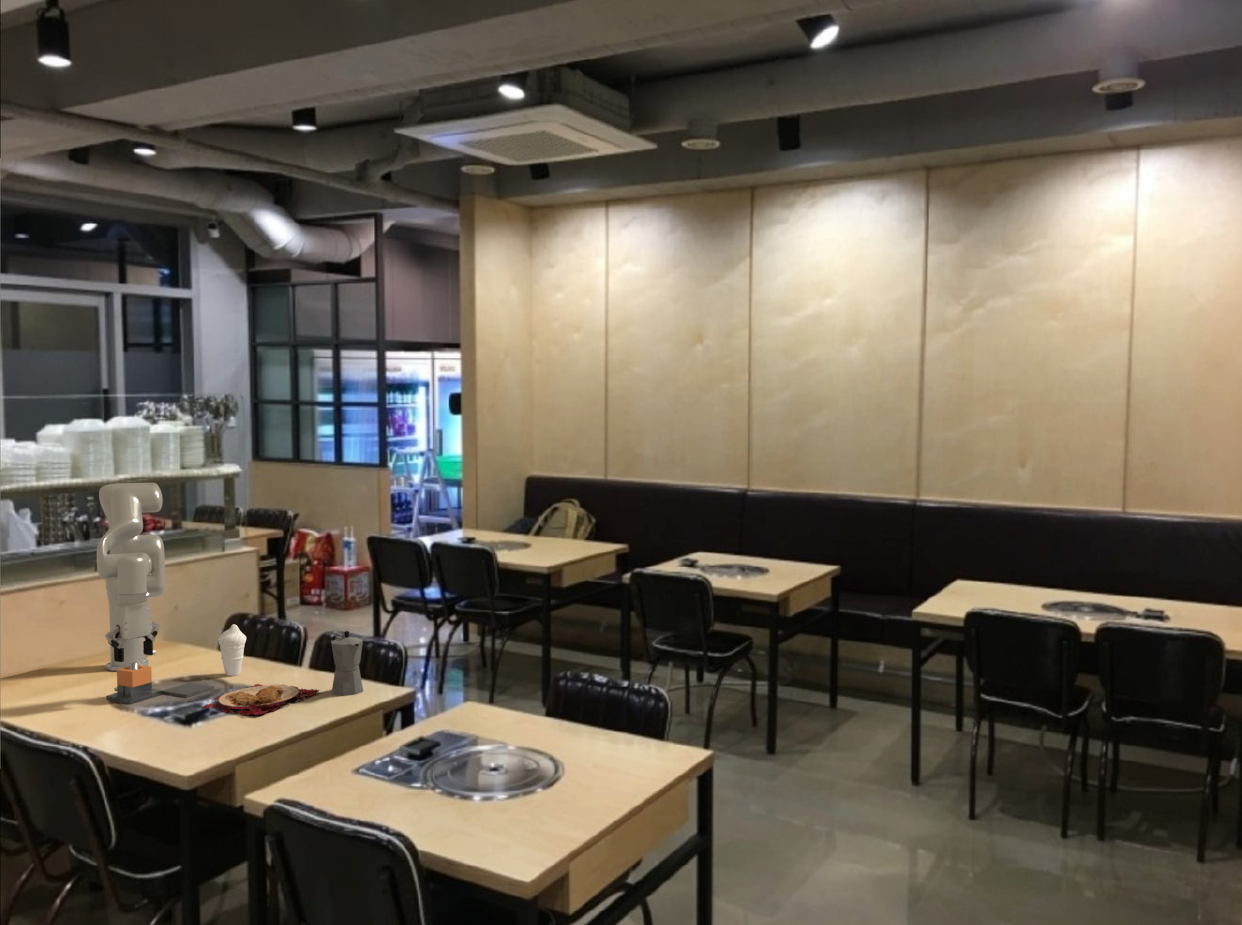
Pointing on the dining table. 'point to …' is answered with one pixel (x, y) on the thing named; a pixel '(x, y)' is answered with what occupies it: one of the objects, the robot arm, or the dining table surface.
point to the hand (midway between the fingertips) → (134, 658)
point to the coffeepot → (347, 665)
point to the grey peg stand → (134, 691)
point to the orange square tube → (134, 676)
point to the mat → (187, 690)
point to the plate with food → (259, 698)
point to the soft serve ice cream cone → (232, 650)
